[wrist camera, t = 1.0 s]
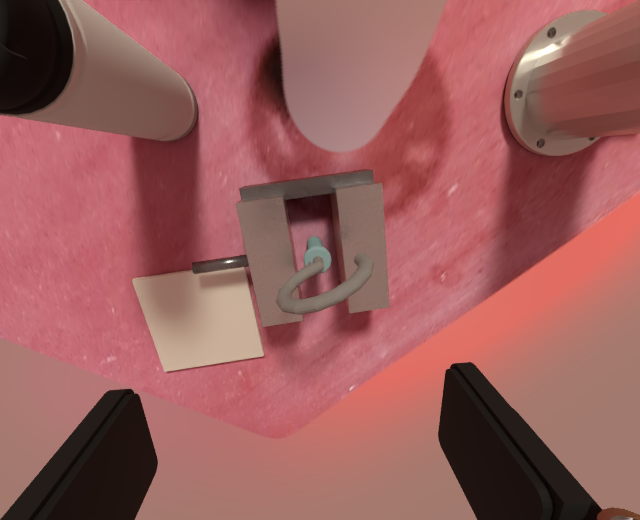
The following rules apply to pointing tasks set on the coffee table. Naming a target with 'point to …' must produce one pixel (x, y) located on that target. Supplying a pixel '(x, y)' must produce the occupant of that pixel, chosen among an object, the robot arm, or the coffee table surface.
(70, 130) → the coffee table surface
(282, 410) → the coffee table surface
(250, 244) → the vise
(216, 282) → the mat
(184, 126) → the travel mug
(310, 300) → the hook
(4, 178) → the coffee table surface
